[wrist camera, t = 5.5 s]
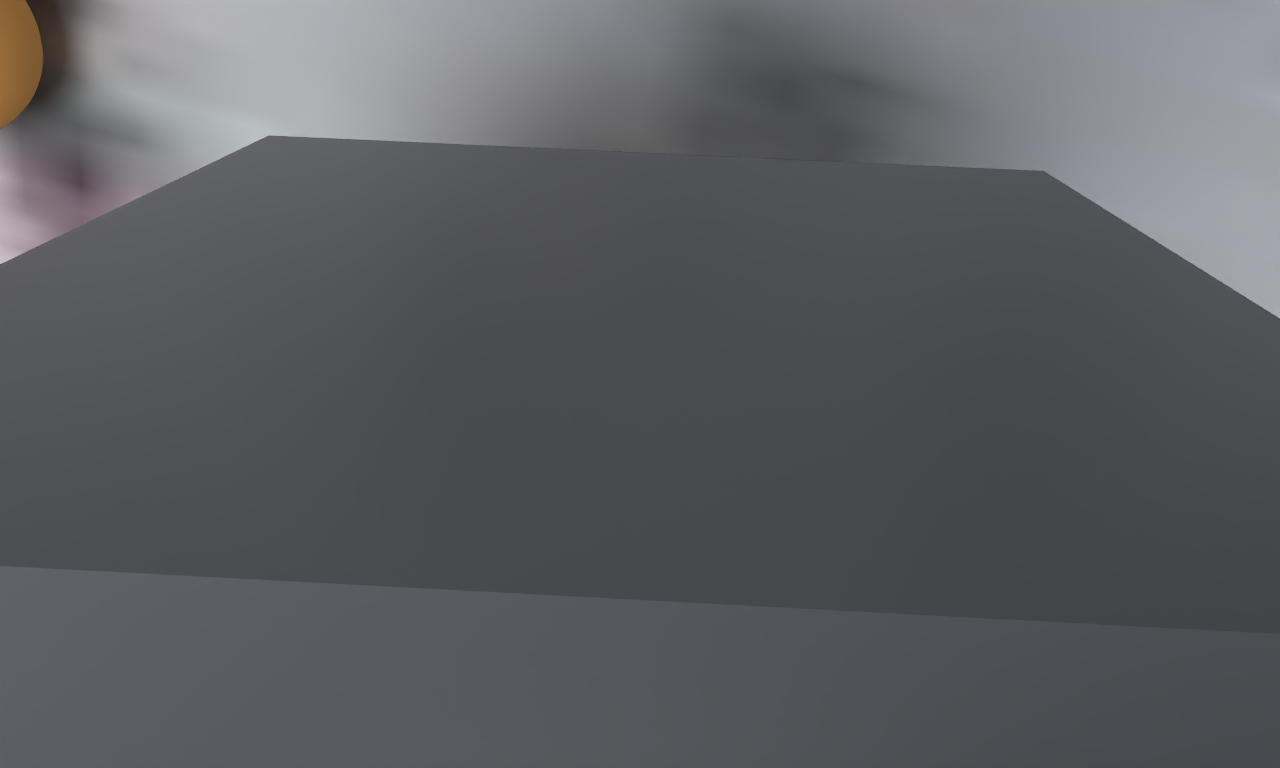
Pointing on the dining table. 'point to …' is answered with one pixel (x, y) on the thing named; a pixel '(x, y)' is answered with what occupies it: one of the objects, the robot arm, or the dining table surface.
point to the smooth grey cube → (631, 472)
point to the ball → (18, 58)
